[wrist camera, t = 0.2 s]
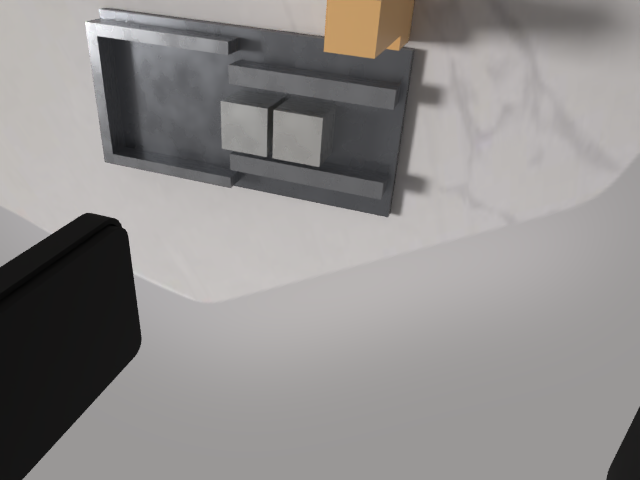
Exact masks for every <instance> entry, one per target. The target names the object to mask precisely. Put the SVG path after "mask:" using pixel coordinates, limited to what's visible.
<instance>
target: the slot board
mask: <svg viewBox="0 0 640 480" xmlns="http://www.w3.org/2000/svg"><path fill="white" fill-rule="evenodd" d="M99 13H100V19H95V20H91V21H86V22H85V26H86V33H87V40H88V47H89V54H90V61H91V68H92V75H93V82H94V89H95V96H96V103H97V110H98V117H99V124H100V131H101V138H102V145H103V152H104V159H105V162H107V163H112V164H117V165H122V166H126V167H131V168H136V169H141V170H146V171H151V172H155V173H160V174H165V175H170V176H175V177H180V178H185V179H189V180H194V181H199V182H204V183H209V184H214V185H218V186H223V187H228V188H231V187H232V186H233V185H234V186H238V187H243V188H248V189H253V190H258V191H263V192H268V193H273V194H277V195H282V196H287V197H292V198H297V199H302V200H307V201H312V202H316V203H321V204H326V205H331V206H336V207H341V208H346V209H351V210H355V211H360V212H365V213H370V214H375V215H380V216H385V217H388V216H389V214H390V210H391V203H392V196H393V189H394V183H395V176H396V169H397V162H398V156H399V149H400V142H401V135H402V129H403V122H404V115H405V108H406V102H407V95H408V88H409V81H410V75H411V68H412V61H413V54H414V49H413V48H405V47H402V48H401V49H400V50H399V51H397V50H390V49H385V50H384V51H383V52H382V53H381V54H380V55H378V56H377V57H376V58H375V59H373V58H365V57H358V56H351V55H344V54H336V53H329V52H324V39H325V37H322V36H314V35H306V34H299V33H291V32H284V31H276V30H268V29H261V28H253V27H246V26H238V25H230V24H223V23H215V22H208V21H200V20H192V19H185V18H177V17H170V16H162V15H154V14H147V13H139V12H132V11H124V10H116V9H109V8H102V9H99ZM239 90H242V91H248V92H254V93H260V94H266V95H273V96H279V97H284V102H285V101H286V100H288V99H289V98H291V99H298V100H304V101H310V102H316V103H322V104H329V105H335V106H336V110H335V122H334V134H333V147H332V153H331V154H330V155H329V156H328V158H327V159H326V160H325V161H324V162H323V163H322V165H321V166H320V167H316V166H311V165H306V164H300V163H295V162H290V161H285V160H279V159H274V158H272V155H273V152H272V153H271V154H270V155H268V156H267V157H263V156H258V155H253V154H248V153H242V152H237V151H232V150H226V149H222V136H221V100H223V99H225V98H227V97H228V96H230V95H232V94H234V93H235V92H237V91H239Z"/></svg>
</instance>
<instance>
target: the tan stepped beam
mask: <svg viewBox="0 0 640 480" xmlns="http://www.w3.org/2000/svg"><path fill="white" fill-rule="evenodd" d="M414 1H415V0H327V9H326V24H325V39H324V52H329V53H336V54H344V55H351V56H358V57H365V58H373V59H375V58H376V57H377V56H378V55H380V54H381V53H382V52H383V51H384V50H385V49H390V50H397V51H399V50H400V49H401V48H402V47H403V46H404V45H405V44H406V43H407V42H408V41H409V36H410V29H411V22H412V15H413V8H414Z"/></svg>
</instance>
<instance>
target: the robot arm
mask: <svg viewBox="0 0 640 480" xmlns="http://www.w3.org/2000/svg"><path fill="white" fill-rule="evenodd" d="M140 345H141V330H140V322H139V315H138V308H137V300H136V292H135V284H134V277H133V269H132V262H131V254H130V246H129V239H128V234H127V232H126V230H125V229H123V228H122V226H121V224H120V222H119V221H118V220H117V219H115V218H110V217H106V216H101V215H97V214H93V213H86V214H83V215H81V216H80V217H78V218H76V219H75V220H73V221H72V222H70V223H69V224H67V225H66V226H64V227H62V228H61V229H59V230H58V231H56V232H55V233H53V234H51V235H50V236H48V237H47V238H46V239H44V240H42V241H40V242H39V243H38V244H36V245H34V246H33V247H31V248H30V249H28V250H26V251H25V252H23V253H22V254H20V255H19V256H17V257H15V258H14V259H13V260H11V261H9V262H8V263H6V264H5V265H3V266H1V267H0V480H22V479H23V478H24V477H25V476H26V475H27V474H28V473H29V472H30V471H31V469H32V468H33V467H34V466H35V465H36V464H37V463H38V462H39V461H40V460H41V458H42V457H43V456H44V455H45V454H46V453H47V452H48V451H49V450H50V449H51V448H52V446H53V445H54V444H55V443H56V442H57V441H58V440H59V439H60V438H61V437H62V436H63V434H64V433H65V432H66V431H67V430H68V429H69V428H70V427H71V426H72V424H73V423H74V422H75V421H76V420H77V419H78V418H79V417H80V416H81V415H82V414H83V413H84V411H85V410H86V409H87V408H88V407H89V406H90V405H91V404H92V403H93V402H94V401H95V399H96V398H97V397H98V396H99V395H100V394H101V393H102V392H103V391H104V390H105V388H106V387H107V386H108V385H109V384H110V383H111V382H112V381H113V380H114V379H115V378H116V376H117V375H118V374H119V373H120V372H121V371H122V370H123V369H124V368H125V367H126V366H127V364H128V363H129V362H130V361H131V360H132V359H133V358H134V357H135V355H136V354H137V352H138V350H139V348H140ZM607 480H640V407H639V409H638V411H637V413H636V415H635V417H634V419H633V421H632V424H631V426H630V427H629V429H628V432H627V434H626V436H625V438H624V440H623V442H622V444H621V446H620V448H619V450H618V452H617V454H616V456H615V458H614V460H613V462H612V464H611V466H610V468H609V471H608V475H607Z"/></svg>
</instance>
